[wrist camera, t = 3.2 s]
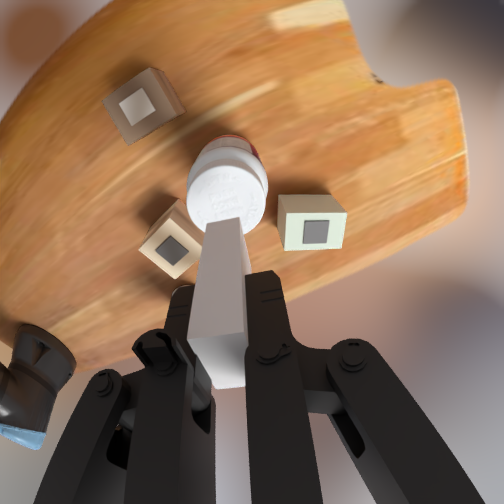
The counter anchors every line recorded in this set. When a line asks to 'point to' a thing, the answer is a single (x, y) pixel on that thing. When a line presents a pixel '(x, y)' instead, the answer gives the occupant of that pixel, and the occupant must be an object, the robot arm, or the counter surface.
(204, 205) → the pill bottle
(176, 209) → the beech block
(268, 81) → the counter surface
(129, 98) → the walnut block
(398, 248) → the counter surface
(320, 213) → the sage block
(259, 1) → the counter surface
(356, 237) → the counter surface
